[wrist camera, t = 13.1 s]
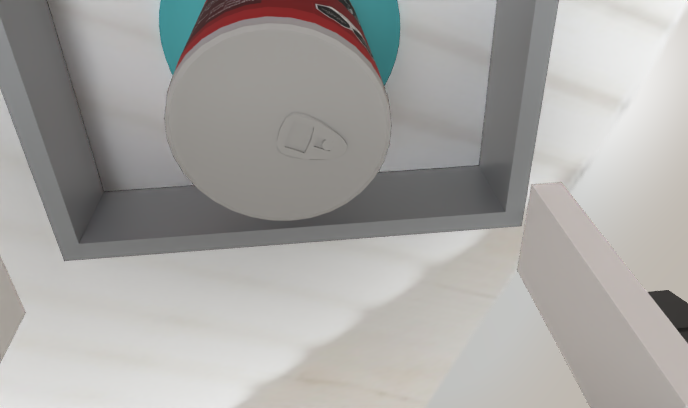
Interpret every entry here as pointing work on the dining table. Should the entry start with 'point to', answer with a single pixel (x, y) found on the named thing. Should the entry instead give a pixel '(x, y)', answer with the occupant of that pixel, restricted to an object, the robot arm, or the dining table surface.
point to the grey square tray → (244, 231)
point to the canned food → (278, 107)
